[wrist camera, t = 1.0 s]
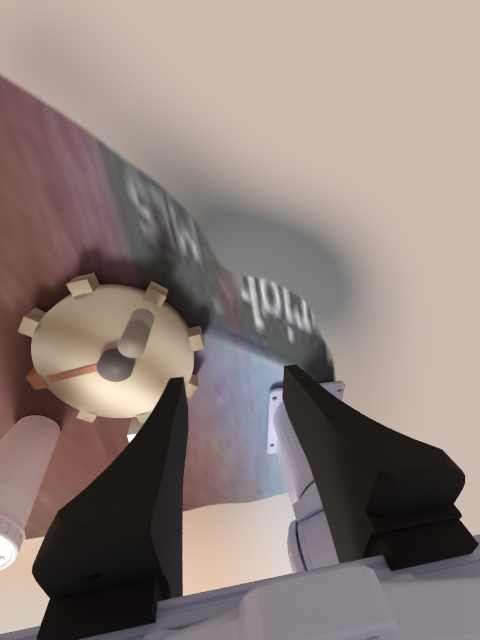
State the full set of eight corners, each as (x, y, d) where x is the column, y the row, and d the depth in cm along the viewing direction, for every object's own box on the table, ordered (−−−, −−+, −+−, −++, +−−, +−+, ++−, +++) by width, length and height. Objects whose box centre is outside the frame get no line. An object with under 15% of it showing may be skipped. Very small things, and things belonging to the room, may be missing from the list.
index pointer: (150, 434, 28) (146, 455, 26) (138, 436, 28) (133, 457, 25) (145, 413, 26) (141, 433, 24) (132, 415, 26) (127, 435, 24)
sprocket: (159, 429, 27) (152, 482, 22) (5, 380, 22) (-48, 434, 17) (234, 324, 23) (244, 362, 18) (65, 235, 18) (17, 253, 13)
